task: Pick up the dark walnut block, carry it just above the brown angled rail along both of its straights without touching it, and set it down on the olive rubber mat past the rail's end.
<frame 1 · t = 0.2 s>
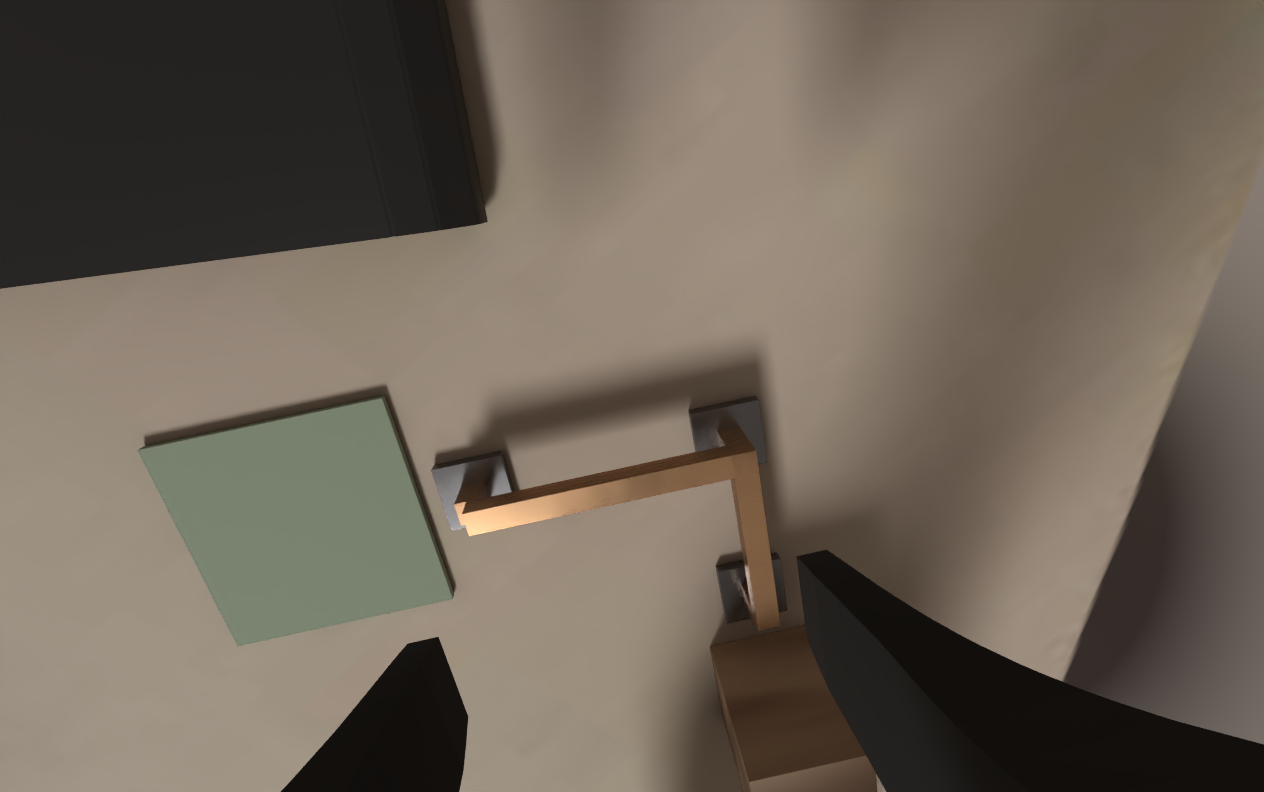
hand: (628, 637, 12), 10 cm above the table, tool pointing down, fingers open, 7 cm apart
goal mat: (309, 525, 21), on the table
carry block: (763, 673, 25), on the table
brown angled rail: (726, 434, 22), on the table
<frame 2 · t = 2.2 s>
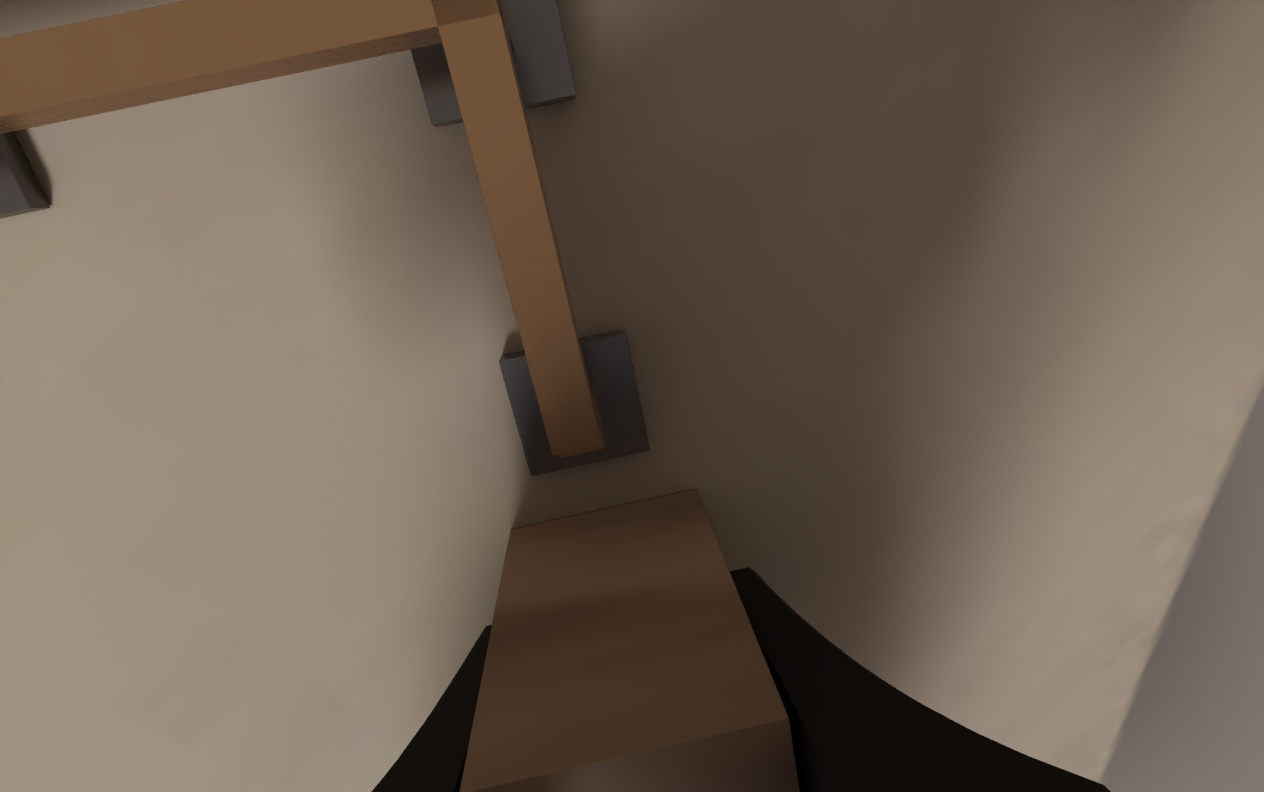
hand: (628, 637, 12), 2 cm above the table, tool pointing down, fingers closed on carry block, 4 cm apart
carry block: (622, 587, 14), on the table, touching gripper
brown angled rail: (487, 33, 10), on the table
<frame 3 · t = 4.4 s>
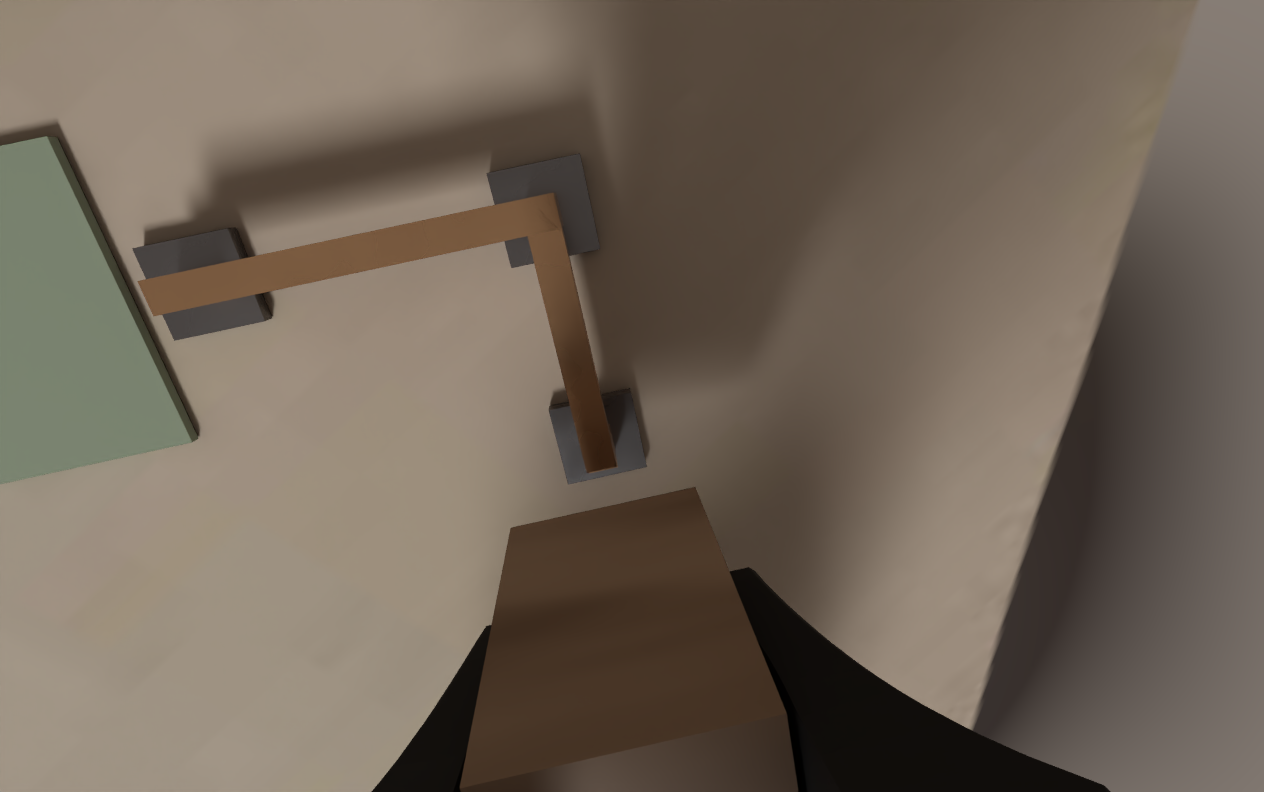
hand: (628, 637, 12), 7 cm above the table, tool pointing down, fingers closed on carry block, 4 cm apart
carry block: (622, 585, 14), point 5 cm above the table, touching gripper
brown angled rail: (545, 211, 16), on the table
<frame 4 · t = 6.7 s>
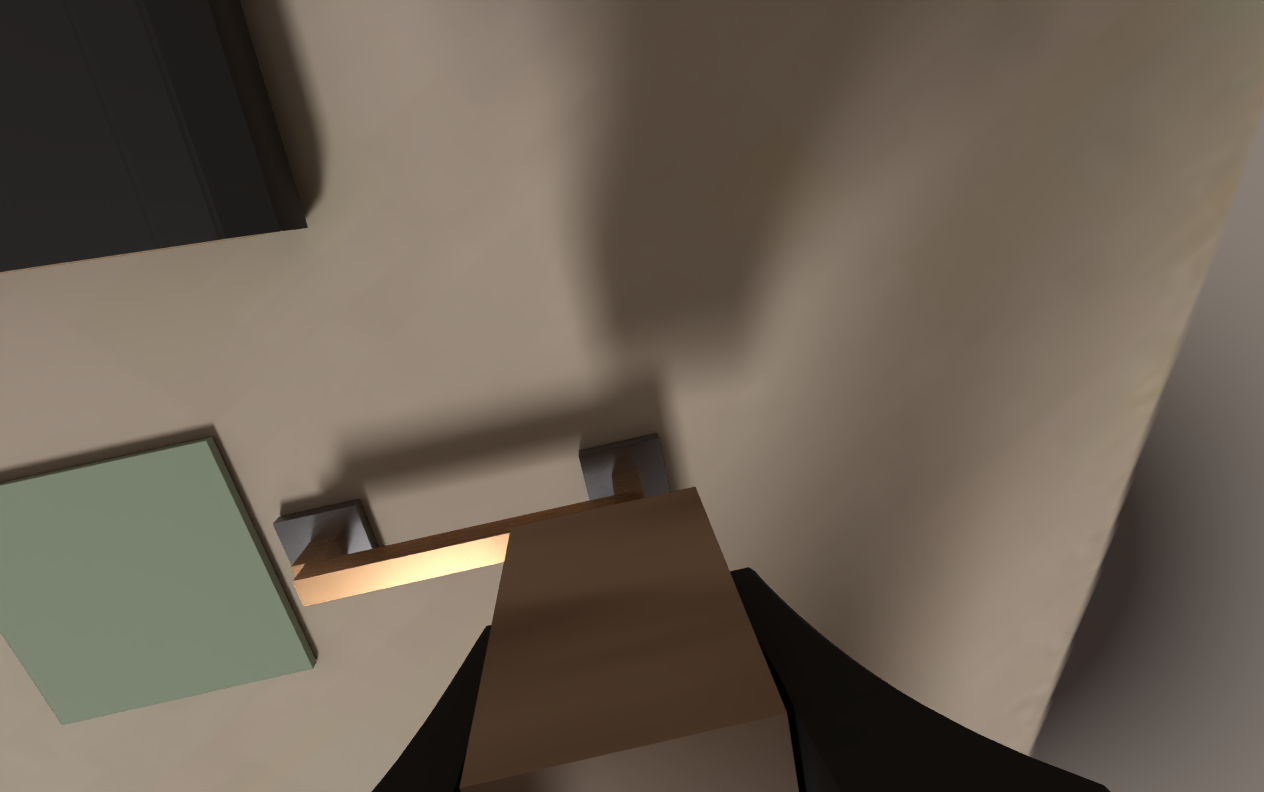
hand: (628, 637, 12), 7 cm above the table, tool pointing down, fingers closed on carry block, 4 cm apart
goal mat: (136, 586, 18), on the table
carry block: (622, 585, 14), point 5 cm above the table, touching gripper
brown angled rail: (626, 477, 19), on the table
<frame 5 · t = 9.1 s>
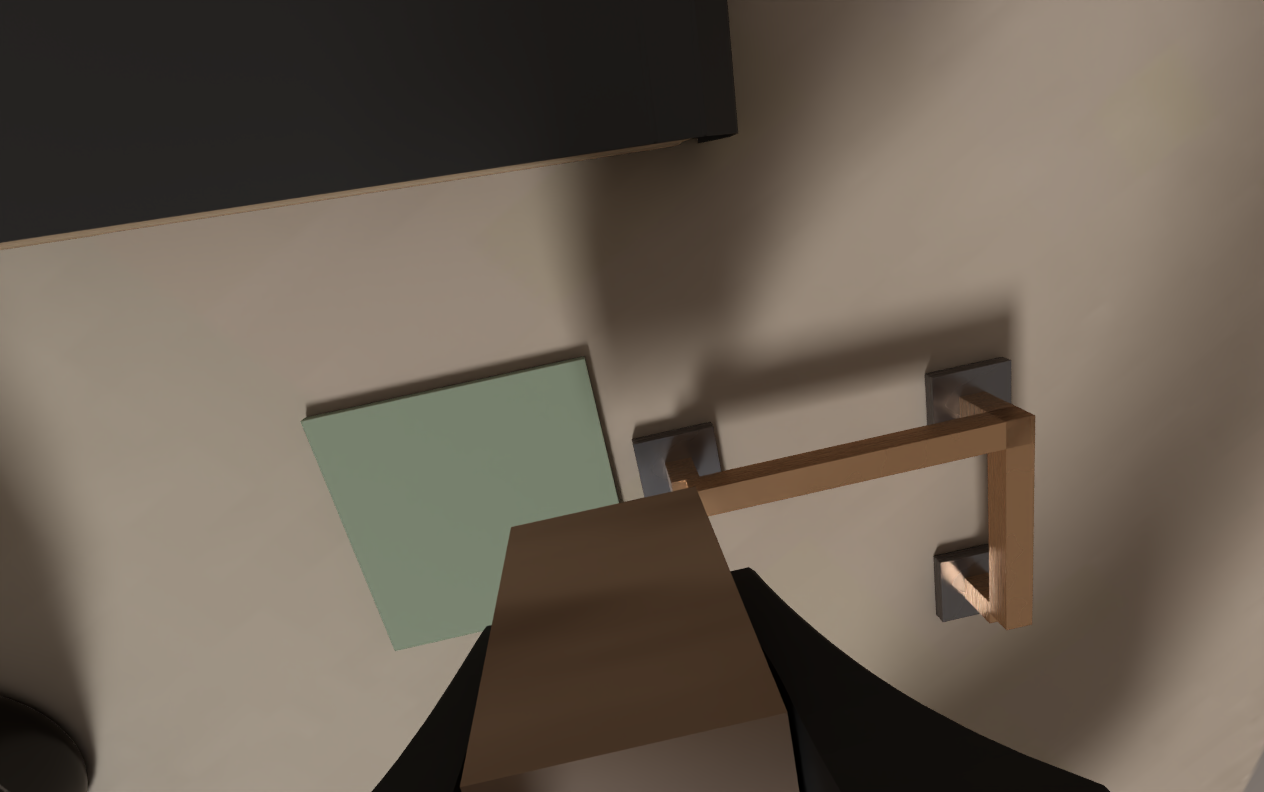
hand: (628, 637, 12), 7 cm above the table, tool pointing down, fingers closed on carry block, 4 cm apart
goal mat: (484, 509, 19), on the table
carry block: (622, 584, 14), point 5 cm above the table, touching gripper
brown angled rail: (964, 402, 19), on the table
when the fingers open (3 cm above the table, at t = 11.1 s): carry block stays where it is, resting on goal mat.
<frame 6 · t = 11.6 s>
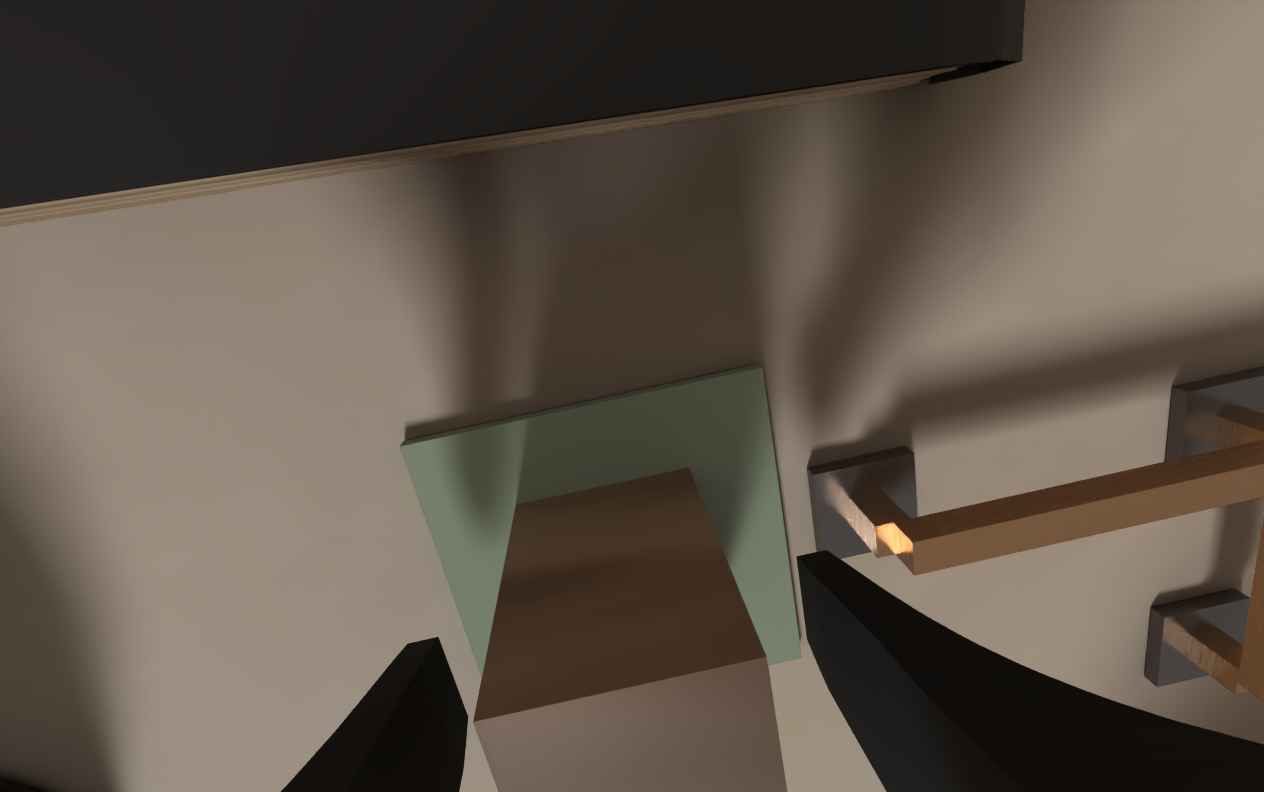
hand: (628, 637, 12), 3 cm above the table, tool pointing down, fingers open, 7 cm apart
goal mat: (618, 555, 15), on the table
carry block: (620, 560, 14), resting on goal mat
brown angled rail: (1214, 422, 15), on the table
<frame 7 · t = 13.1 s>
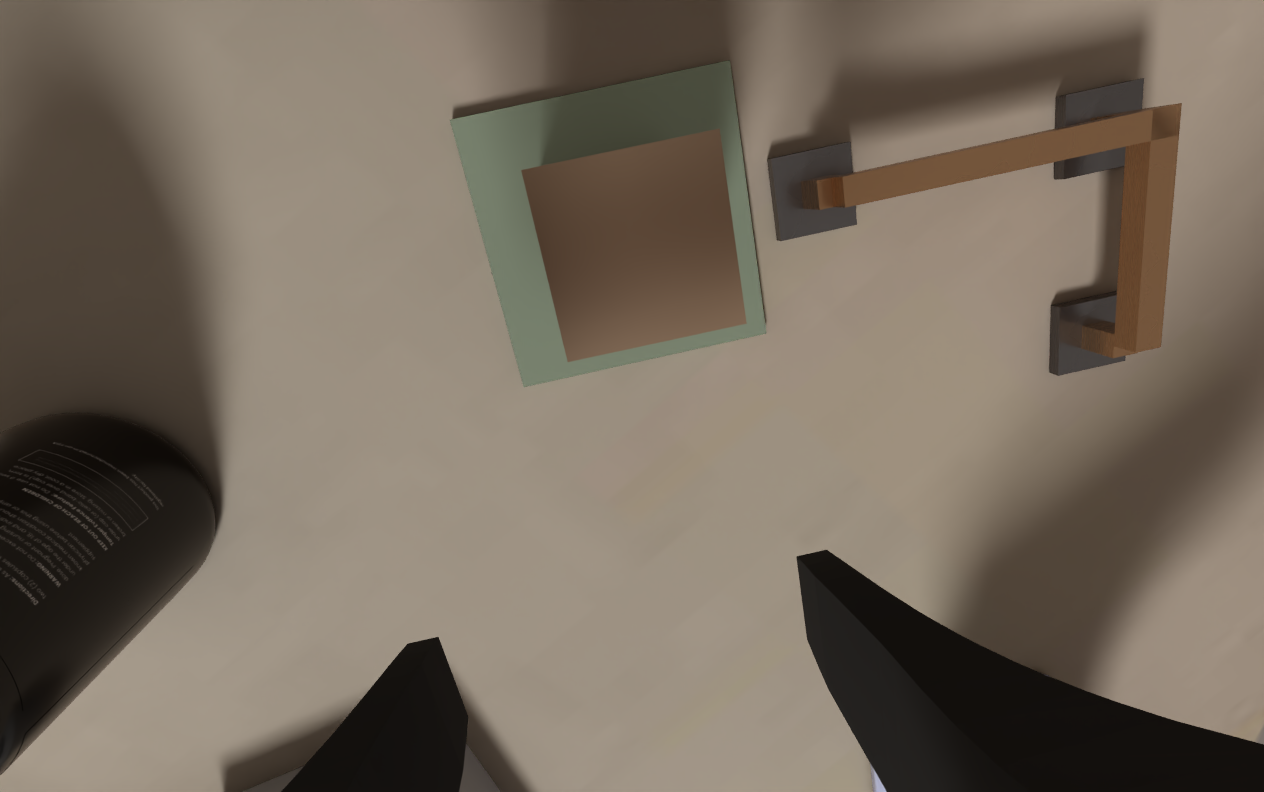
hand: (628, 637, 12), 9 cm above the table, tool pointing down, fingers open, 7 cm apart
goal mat: (619, 233, 19), on the table
supplement bottle: (117, 502, 20), on the table
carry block: (620, 232, 18), resting on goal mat
brown angled rail: (1092, 130, 19), on the table
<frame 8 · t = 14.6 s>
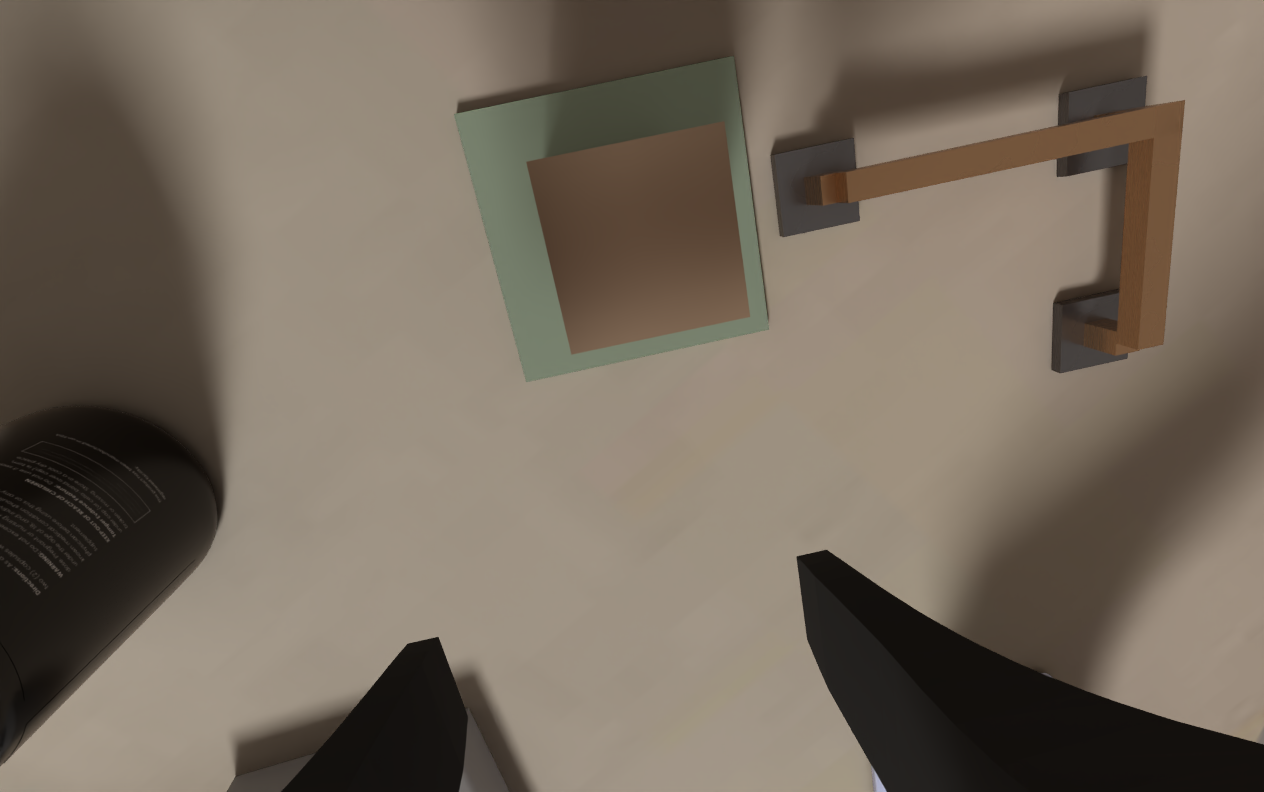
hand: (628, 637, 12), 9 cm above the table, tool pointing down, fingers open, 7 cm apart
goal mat: (622, 229, 19), on the table
supplement bottle: (119, 496, 20), on the table
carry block: (623, 228, 18), resting on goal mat
brown angled rail: (1095, 128, 19), on the table
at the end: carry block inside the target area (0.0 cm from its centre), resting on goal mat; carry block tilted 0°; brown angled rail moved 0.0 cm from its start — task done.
